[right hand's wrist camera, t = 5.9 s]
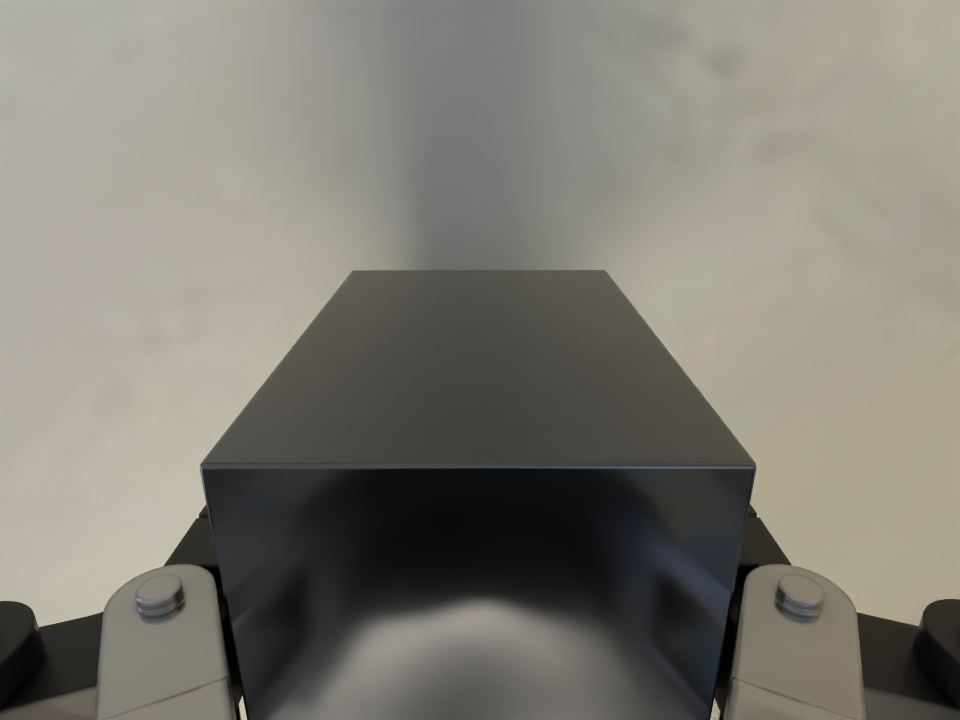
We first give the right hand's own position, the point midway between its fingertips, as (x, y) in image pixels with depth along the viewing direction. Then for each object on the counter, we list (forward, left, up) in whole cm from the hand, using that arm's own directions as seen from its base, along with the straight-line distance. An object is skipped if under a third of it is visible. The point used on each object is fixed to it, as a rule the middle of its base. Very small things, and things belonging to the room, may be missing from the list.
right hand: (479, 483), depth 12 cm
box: (-8, +2, -4) cm, 10 cm away
